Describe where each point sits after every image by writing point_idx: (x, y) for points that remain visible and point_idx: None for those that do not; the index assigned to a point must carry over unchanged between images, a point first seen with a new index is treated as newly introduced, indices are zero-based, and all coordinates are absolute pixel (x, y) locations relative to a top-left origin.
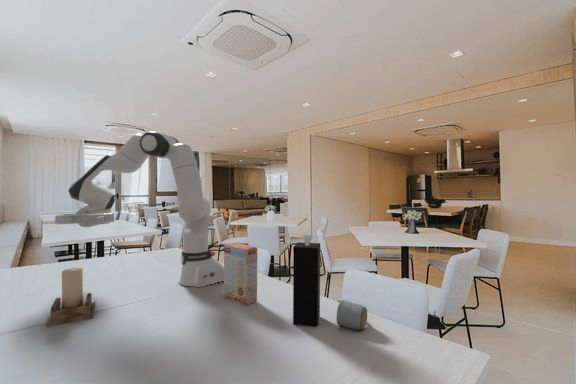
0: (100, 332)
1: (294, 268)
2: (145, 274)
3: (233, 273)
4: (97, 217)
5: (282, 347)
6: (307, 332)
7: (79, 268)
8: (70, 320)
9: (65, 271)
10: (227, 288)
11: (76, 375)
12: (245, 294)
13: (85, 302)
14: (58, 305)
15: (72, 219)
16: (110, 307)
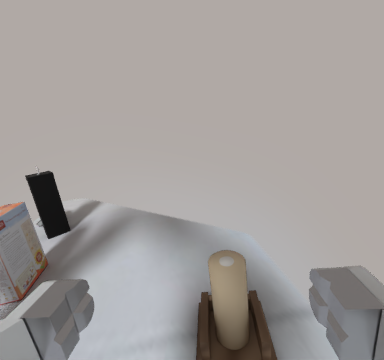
0: (191, 266)
1: (57, 189)
2: None
3: (22, 247)
4: (75, 280)
5: (103, 218)
6: (77, 223)
7: (214, 267)
8: None
9: (237, 258)
10: (22, 279)
11: (206, 226)
12: (43, 252)
13: (207, 293)
14: (255, 321)
15: (317, 287)
16: (170, 343)
